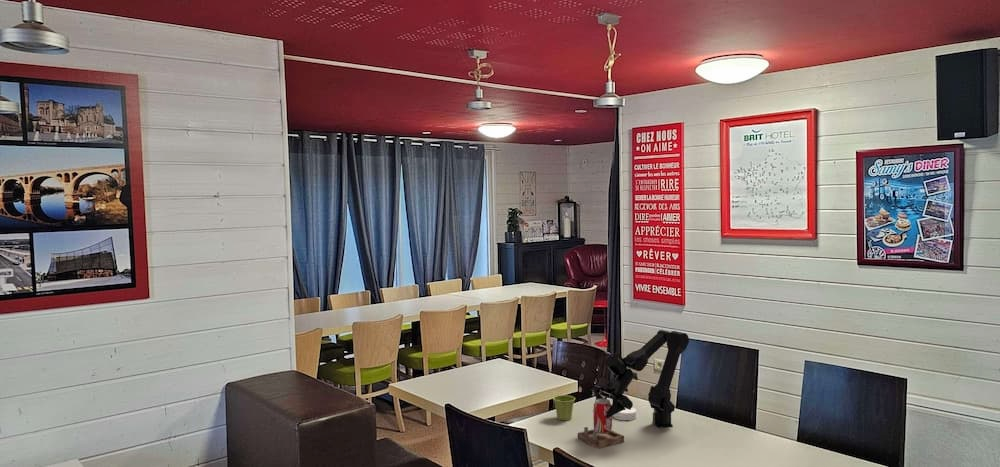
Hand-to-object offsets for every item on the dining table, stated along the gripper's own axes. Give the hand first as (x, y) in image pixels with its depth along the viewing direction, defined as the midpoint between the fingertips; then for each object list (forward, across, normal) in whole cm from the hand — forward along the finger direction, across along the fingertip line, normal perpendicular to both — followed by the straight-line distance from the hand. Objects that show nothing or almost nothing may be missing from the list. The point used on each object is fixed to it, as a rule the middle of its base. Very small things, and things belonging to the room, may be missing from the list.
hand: (600, 415), depth 244 cm
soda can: (+4, 0, +6) cm, 7 cm away
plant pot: (+5, -28, +10) cm, 30 cm away
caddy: (+7, 0, +7) cm, 10 cm away
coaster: (-12, -16, +26) cm, 33 cm away
